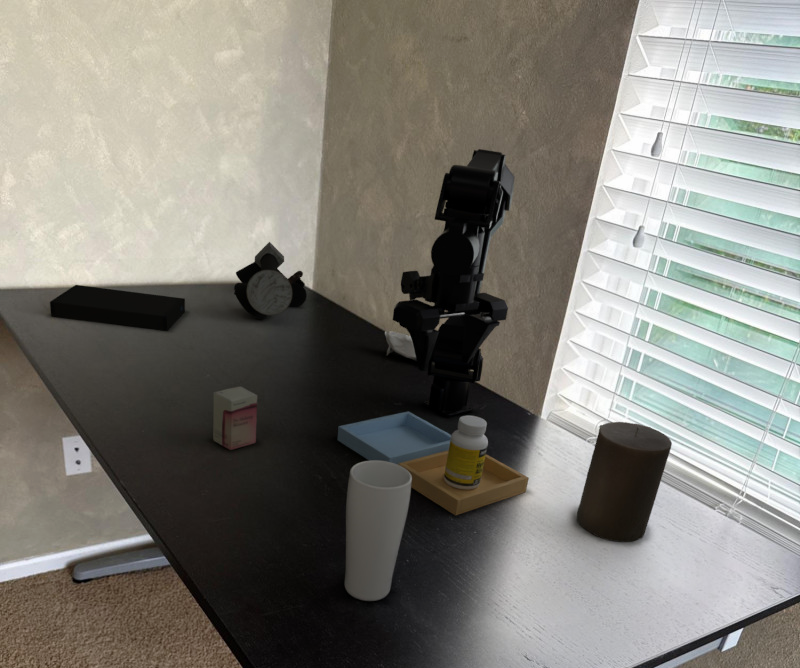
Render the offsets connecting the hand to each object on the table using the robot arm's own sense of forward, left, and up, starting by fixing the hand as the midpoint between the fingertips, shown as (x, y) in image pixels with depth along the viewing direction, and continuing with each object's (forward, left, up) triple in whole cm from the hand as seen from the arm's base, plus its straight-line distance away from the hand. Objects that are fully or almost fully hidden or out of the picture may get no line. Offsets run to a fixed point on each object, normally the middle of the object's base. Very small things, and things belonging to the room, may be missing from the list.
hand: (443, 366), depth 125 cm
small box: (+28, -14, -13) cm, 34 cm away
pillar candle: (-5, +32, -13) cm, 35 cm away
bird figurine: (-24, -33, -13) cm, 43 cm away
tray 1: (+6, -2, -13) cm, 14 cm away
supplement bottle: (+6, +13, -13) cm, 19 cm away
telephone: (-16, -73, -13) cm, 76 cm away
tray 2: (+6, +13, -13) cm, 19 cm away
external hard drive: (+17, -78, -13) cm, 81 cm away
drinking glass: (+35, +27, -13) cm, 46 cm away
